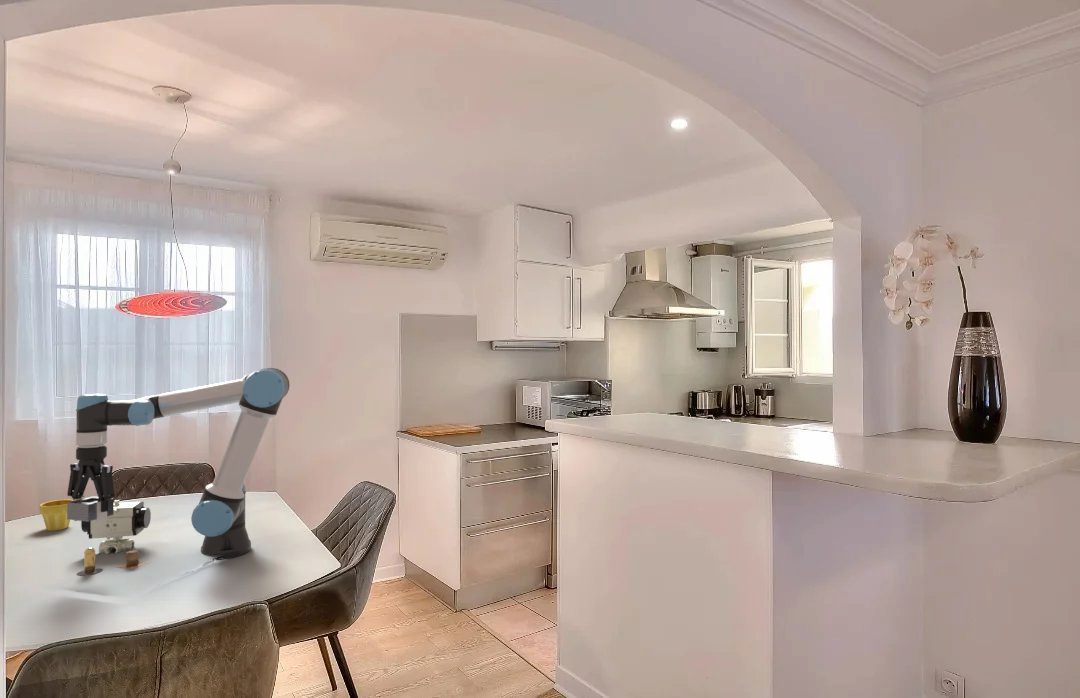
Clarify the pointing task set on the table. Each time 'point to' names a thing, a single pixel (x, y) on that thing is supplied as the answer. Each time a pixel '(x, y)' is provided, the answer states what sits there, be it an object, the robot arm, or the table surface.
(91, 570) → the door knob
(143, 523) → the ball valve
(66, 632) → the table surface
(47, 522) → the plant pot
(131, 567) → the brown knob on base
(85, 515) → the grey square box
